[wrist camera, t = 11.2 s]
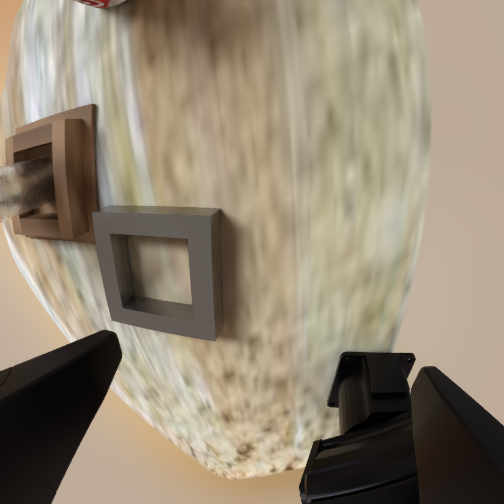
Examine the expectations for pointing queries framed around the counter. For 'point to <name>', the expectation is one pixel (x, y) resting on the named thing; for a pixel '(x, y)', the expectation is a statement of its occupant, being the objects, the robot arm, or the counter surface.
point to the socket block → (200, 261)
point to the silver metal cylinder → (26, 186)
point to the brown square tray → (60, 174)
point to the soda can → (101, 3)
